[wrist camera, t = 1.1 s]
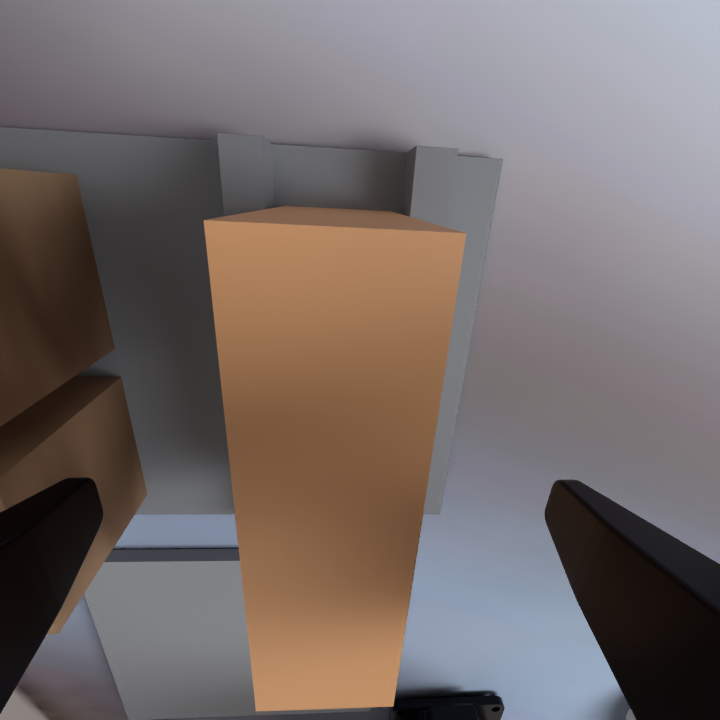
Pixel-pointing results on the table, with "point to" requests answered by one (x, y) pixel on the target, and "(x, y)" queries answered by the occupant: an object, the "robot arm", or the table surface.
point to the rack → (192, 280)
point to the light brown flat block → (330, 435)
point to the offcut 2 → (76, 461)
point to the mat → (177, 633)
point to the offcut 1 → (46, 288)
